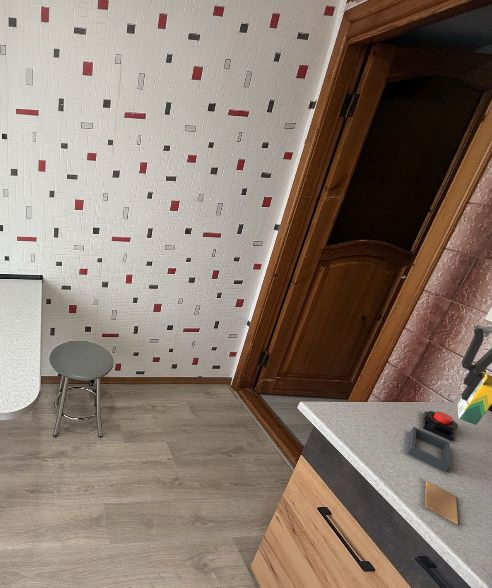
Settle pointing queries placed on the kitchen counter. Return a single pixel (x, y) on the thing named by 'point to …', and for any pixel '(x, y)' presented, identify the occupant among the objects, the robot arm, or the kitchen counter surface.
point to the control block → (438, 426)
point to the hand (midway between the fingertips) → (475, 401)
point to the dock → (426, 457)
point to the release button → (443, 418)
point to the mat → (441, 502)
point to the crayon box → (477, 401)
